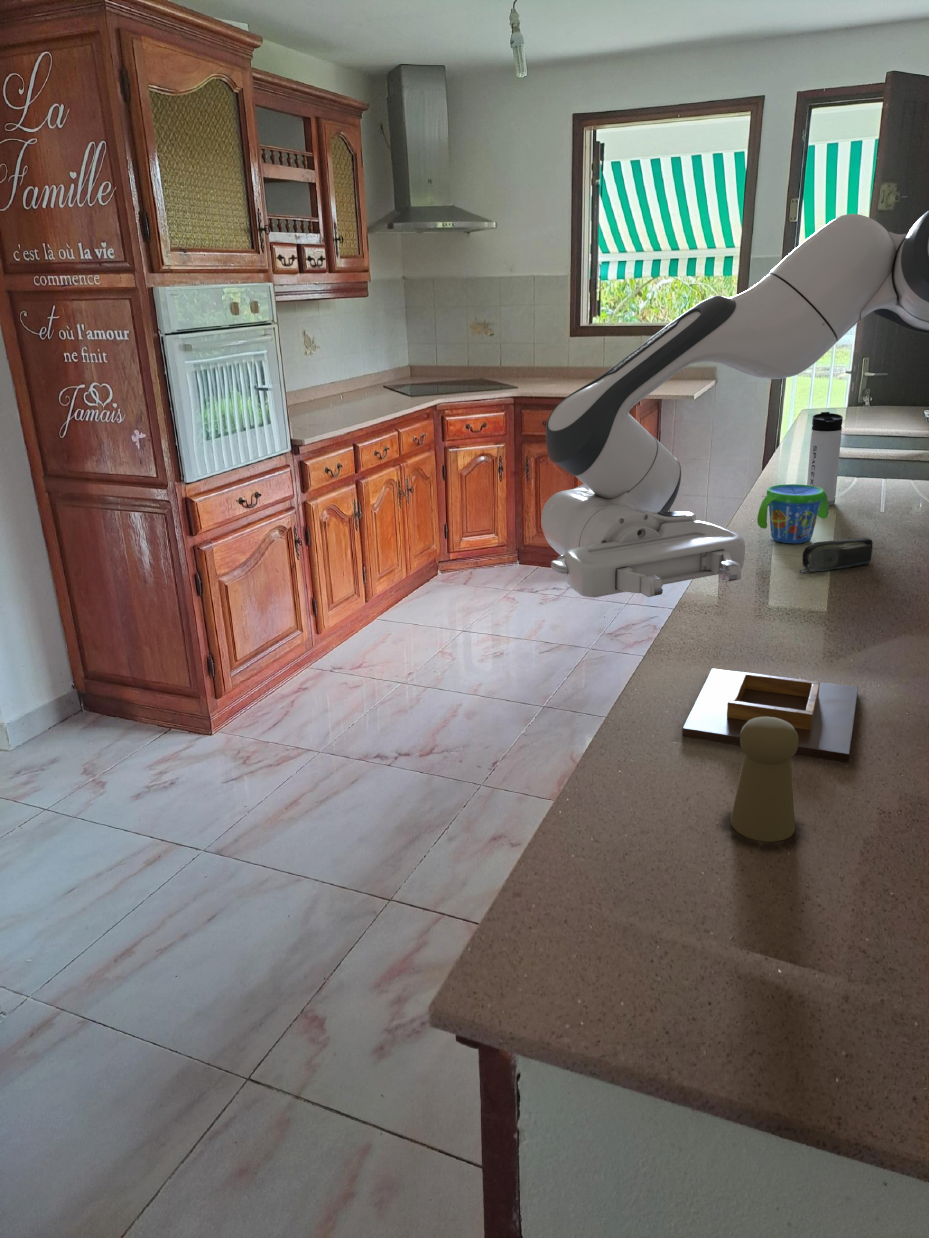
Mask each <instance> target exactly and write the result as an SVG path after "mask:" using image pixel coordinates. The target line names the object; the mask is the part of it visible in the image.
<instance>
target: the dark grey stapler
mask: <svg viewBox="0 0 929 1238" xmlns="http://www.w3.org/2000/svg"><path fill="white" fill-rule="evenodd" d="M873 547H874V546H873V540H872V539H871V538H868V537H859V538H848V539H846V538H845V539H837V540H824V541H823V540H822V541H816V542H814V543H812V544H809V545H807V546H805V548H804V549H803V552H802V566H803V569H799V571H798V572H799V574H800V575H801V574H809V573H814V572H824V571H830V570H831V571H832V570H838V569H848V568H854V567H856V568H857V567H863V566H866V565H868V564H870V563H871V561H872V554H873Z"/></svg>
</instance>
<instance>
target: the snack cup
mask: <svg viewBox="0 0 929 1238" xmlns="http://www.w3.org/2000/svg"><path fill="white" fill-rule="evenodd" d="M820 503H821V504H820ZM819 505H820V506H819ZM829 508H830V506H828V499H827V495H826V493H825V492H824V490H823V489H821V488H819V487H815V486H810V485H807V484H796V483H795V484H794V483H792V484H791V483H787V484H776V485H772V486H769V487H768V488H766V495H765V497H764V498H763V499H762V501H761V504H760V506H759V510H758V513H757V519H756V520H757V521H756V522H757V525H758V526H759V528H761V529H764V530H766V529H767V528H768V521H767V520H768V512H769V527H770V535H771V538H772V539H773V540H774V541H775V542H778V543H783V544H794V545H797V544H804V543H806V542H811V540H812V537H813V535H814V531H815V527H816V524H817V519H818V518H819V519H821V520H825V519H827V518H828V516H829V510H830V509H829Z"/></svg>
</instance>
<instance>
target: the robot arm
mask: <svg viewBox="0 0 929 1238" xmlns="http://www.w3.org/2000/svg"><path fill="white" fill-rule="evenodd" d="M871 313H873V314H875V315H878V316H879V317H881V318H884V319H886V320H889V321H891V322H893V323H895V324H897V325H899V326H901V327H903V328H905V329H907V330H909V331H913V332H915V333H918V334H925V335H929V210H927V211H926V212H925V213H923V214H922V216H920V217H919V218H918V219H917V220H916V221H915V223H914V224H913V225H912V226H911V228H910V229H909V231H908V232H907V233H901V234H898V233H895V232H891V231H888V229H886V228H885V227H884V226H883V225H882V224H881V223H879V222H878V221H877V220H875V219H873V218H871V217H869V216H866V215H862V214H858V213H847V214H843V215H840V216H838V217H836V218H834V219H832V220H831V221H829V222H828V223H827V224H825V225H824V226H822V227H821V228H819V229H818V230H817V231H815V232H814V233H813V234H811V235H810V236H809V237H807V238H806V239H804V241H803V242H801V243H800V244H799V245H798V246H797V247H795V248H794V249H792V251H791V252H789V253H788V255H786V256H785V257H784V258H782V260H781V261H780V262H779V263H778V264H777V265H775V266H774V267H773V268H772V269H771V270H770V272H768V273H767V274H766V276H764V277H763V278H762V279H761V280H760V281H759V282H757V283H756V284H754V285H753V286H751V287H750V288H748V289H747V290H744V291H743V292H741V293H739V294H736V295H734V296H730V297H726V296H722V295H713V296H711V297H709V298H706V299H705V300H702V301H700V302H699V303H697V304H695V305H694V306H692V307H691V308H689V309H688V310H686V311H684V312H683V313H682V314H680V315H679V316H678V317H676V318H675V319H674V320H672V321H671V322H669V323H668V324H667V325H665V326H664V327H663V328H662V329H660V330H659V331H657V332H656V333H655V334H653V335H652V336H651V337H650V338H648V339H647V340H646V341H645V342H643V343H642V344H641V345H639V346H638V347H637V348H636V349H634V350H632V352H630V353H629V354H628V355H626V356H625V357H624V358H623V359H621V360H619V362H617V363H615V364H614V365H613V366H612V367H611V368H609V369H607V371H605V372H604V373H603V374H602V375H600V376H599V377H597V378H596V379H594V380H592V381H591V382H589V383H587V384H585V385H584V386H582V387H580V388H578V389H576V390H575V391H573V392H572V393H570V394H568V395H567V396H566V397H564V399H562V400H561V401H560V402H559V403H558V404H557V405H556V406H555V407H554V408H553V410H552V411H551V412H550V414H549V416H548V418H547V420H546V424H545V446H546V452H547V457H548V458H549V460H550V461H551V462H553V463H554V464H555V465H556V466H558V467H560V468H561V469H563V470H564V471H566V472H567V473H569V474H570V475H571V476H574V477H575V478H576V479H578V480H579V481H580V482H581V483H582V484H580V485H578V486H577V487H574V488H571V489H566V490H561V491H558V492H556V493H554V494H552V495H551V496H550V497H549V498H548V499H547V501H546V502H545V503H544V505H543V508H542V510H541V515H540V524H541V525H540V526H541V530H542V533H543V536H544V538H545V540H546V541H547V544H548V545H549V546H550V547H551V548H552V549H553V550H554V551H555V552H556V553H557V554H558V556H557V557H556V559H553V560H551V562H550V568H551V569H552V570H554V571H555V572H557V573H558V574H561V575H564V581H565V582H566V584H567V585H568V586H569V587H570V588H571V589H573V591H574V592H576V593H577V594H578V595H580V596H582V597H584V598H593V599H595V598H601V597H607V596H610V595H611V596H612V595H616V594H620V593H632V594H633V593H634V594H641V595H643V596H645V597H647V598H653V597H655V596H656V597H657V596H660V595H663V591H664V588H663V586H664V585H668V584H675V583H679V582H686V581H690V580H696V579H701V578H706V577H712V576H716V575H717V576H718V579H719V580H722V581H724V582H726V583H727V582H734V581H740V580H741V578H742V569H743V567H744V563H745V557H746V556H745V555H746V544H745V539H744V538H743V536H741V535H740V534H738V533H736V532H735V531H731V530H729V529H727V528H725V527H722V526H720V525H717V524H714V523H712V522H707V521H703V520H702V521H701V520H697V517H696V514H695V513H693V512H690V511H670V509H671V507H672V506H673V505H674V503H675V501H676V499H677V497H678V493H679V491H680V486H681V481H682V468H681V467H682V466H681V463H680V461H679V460H678V458H677V457H675V456H674V454H673V453H671V452H670V450H668V449H667V448H666V447H665V446H664V445H663V444H662V442H660V441H659V440H658V439H657V438H656V437H655V436H654V435H652V434H651V433H650V432H649V431H648V430H647V429H646V428H645V427H644V426H642V424H641V423H640V422H639V421H638V420H637V419H636V418H635V417H633V416H632V415H631V414H630V412H631V409H632V408H633V407H634V406H635V405H637V404H638V403H640V402H642V401H643V399H645V398H646V397H647V396H649V395H650V394H652V393H653V392H654V391H655V390H657V389H658V388H660V386H662V385H663V384H665V383H666V382H668V381H669V380H670V379H672V378H673V377H674V376H675V375H677V374H679V372H681V371H682V370H683V369H686V368H687V367H689V366H691V365H694V364H698V363H703V362H704V363H705V362H707V363H708V362H709V363H717V364H721V365H723V366H726V367H729V368H732V369H734V370H737V371H739V372H741V373H744V374H746V375H749V376H752V377H756V378H759V379H766V380H767V379H768V380H779V379H787V378H792V377H795V376H797V375H799V374H801V373H802V372H805V371H806V370H807V369H809V368H810V367H811V366H813V365H814V364H815V363H817V362H818V361H819V360H820V359H821V358H822V357H823V356H824V355H826V353H828V352H829V350H831V348H832V347H834V346H835V345H836V344H837V343H838V342H839V341H840V340H841V339H842V338H843V337H844V336H846V334H847V333H849V331H850V330H851V329H852V328H854V327H855V326H856V325H857V324H858V323H859V322H860V321H861V320H862V319H864V318H865V317H866V316H868V315H869V314H871Z"/></svg>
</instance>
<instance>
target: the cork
mask: <svg viewBox="0 0 929 1238" xmlns="http://www.w3.org/2000/svg"><path fill="white" fill-rule="evenodd" d="M740 744H741V745H740V747H741V750H742V752H743V753H744V757H743V761H742V764H741V770H740V775H739V777H738V783H737V788H736V793H735V796H734V801H733V806H732V810H731V815H730V821H729V822H730V824H731V826H732V828H733V829H734V830H735V831H736V832H737V833H738V834H740V835H742V836H743V837H745V838H747V839H751V840H755V841H759V842H764V843H765V842H766V843H769V842H770V843H772V842H775V843H776V842H780V841H784V840H785V841H786V840H787V839H789V838H791V837H792V836H793V834H794V833H795V832H796V819H795V803H794V791H793V790H794V789H793V774H792V762H791V761H792V759H793V757H794V756H795V755H796V754H795V753H796V751H797V748H798V735H797V732H796V730H795V729H794V727H793V726H792V725H791V724H790V723H788V722H786V721H784V720H782V719H779V718H775V717H757V718H753V719H751V720H749V721H748V722H747V723H746V724H745V725H744V726H743V727H742V730H741V734H740Z"/></svg>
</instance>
